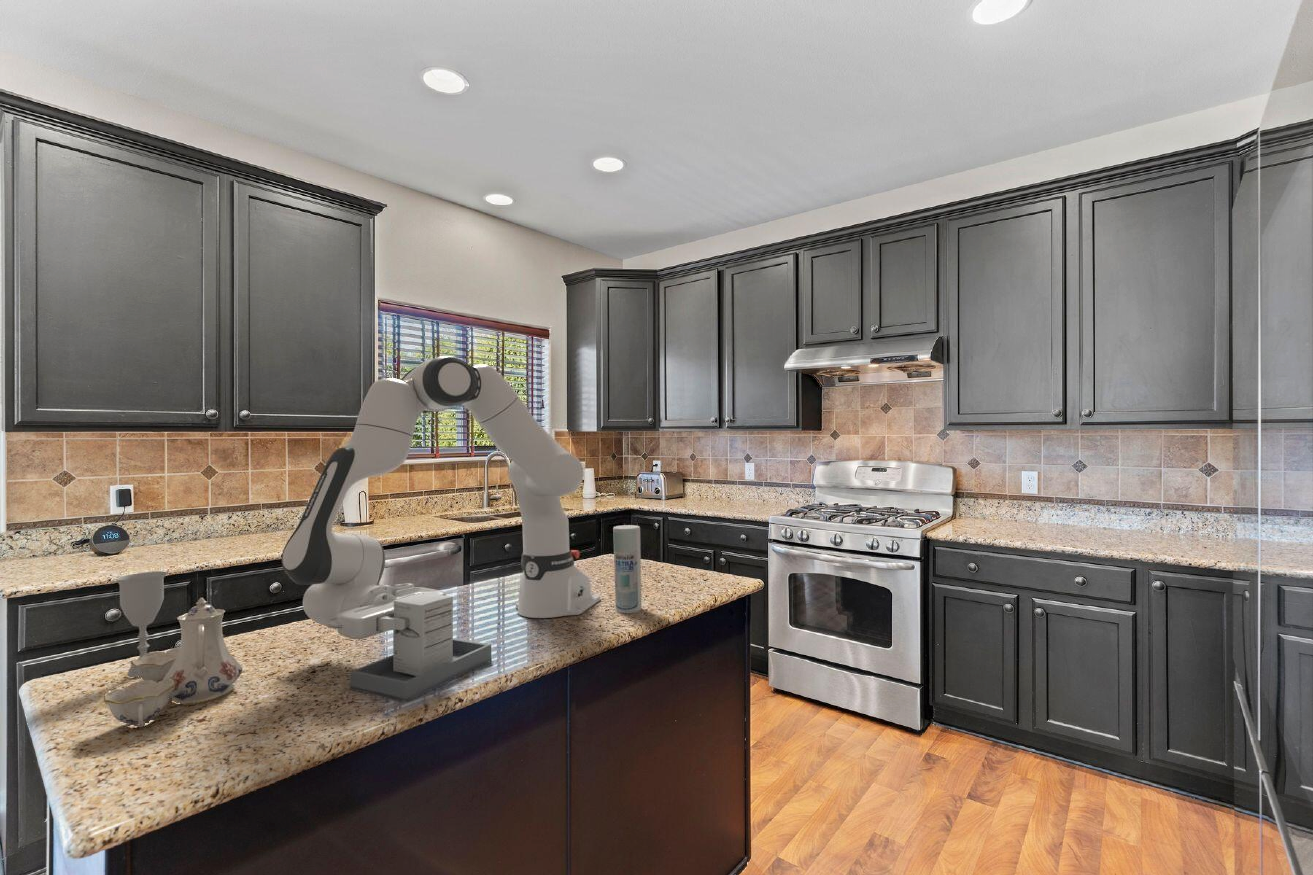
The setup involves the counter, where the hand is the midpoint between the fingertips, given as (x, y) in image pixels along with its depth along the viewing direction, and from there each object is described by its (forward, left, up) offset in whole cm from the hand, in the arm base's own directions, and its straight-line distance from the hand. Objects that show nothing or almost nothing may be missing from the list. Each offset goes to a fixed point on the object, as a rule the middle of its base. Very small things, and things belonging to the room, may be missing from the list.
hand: (426, 617), depth 109 cm
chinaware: (+23, -31, -11) cm, 40 cm away
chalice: (+20, -51, -10) cm, 56 cm away
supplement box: (0, -1, -9) cm, 9 cm away
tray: (0, -1, -10) cm, 10 cm away
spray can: (-50, +13, -10) cm, 53 cm away
